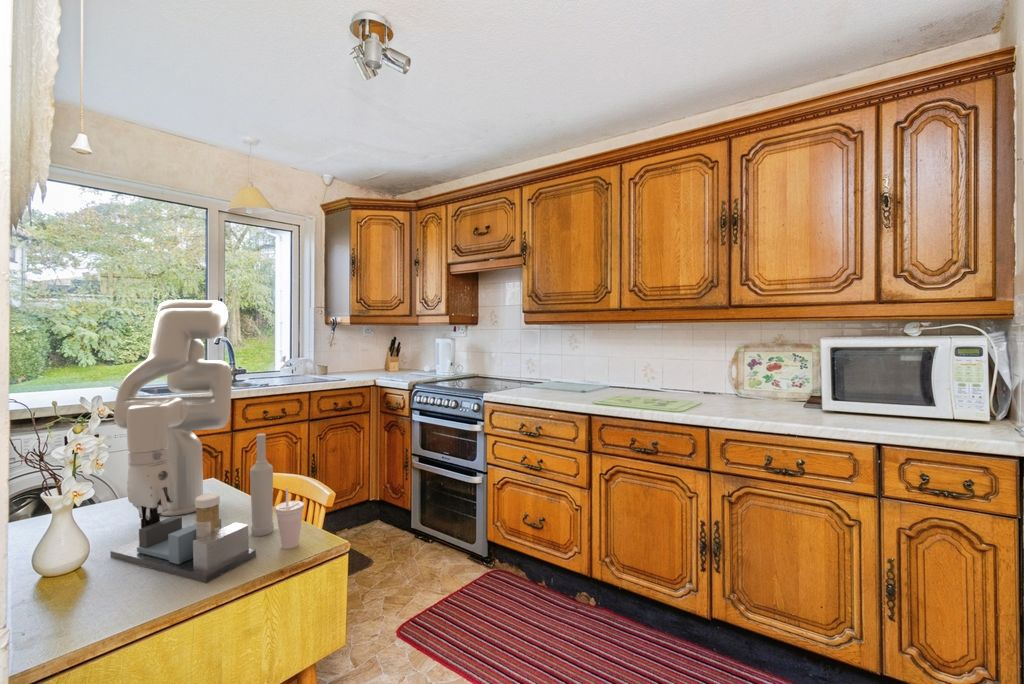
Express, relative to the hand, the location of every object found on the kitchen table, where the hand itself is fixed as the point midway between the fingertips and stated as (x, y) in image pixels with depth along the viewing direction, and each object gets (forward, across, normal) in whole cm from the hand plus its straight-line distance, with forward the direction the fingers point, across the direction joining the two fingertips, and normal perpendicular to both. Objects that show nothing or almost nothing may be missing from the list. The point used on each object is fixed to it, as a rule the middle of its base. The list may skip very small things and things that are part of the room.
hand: (150, 533), depth 112 cm
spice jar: (+2, -18, -1) cm, 18 cm away
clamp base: (+4, -11, 0) cm, 11 cm away
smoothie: (+4, -28, -14) cm, 32 cm away
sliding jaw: (+2, -9, 0) cm, 9 cm away
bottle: (+4, -16, -16) cm, 23 cm away
